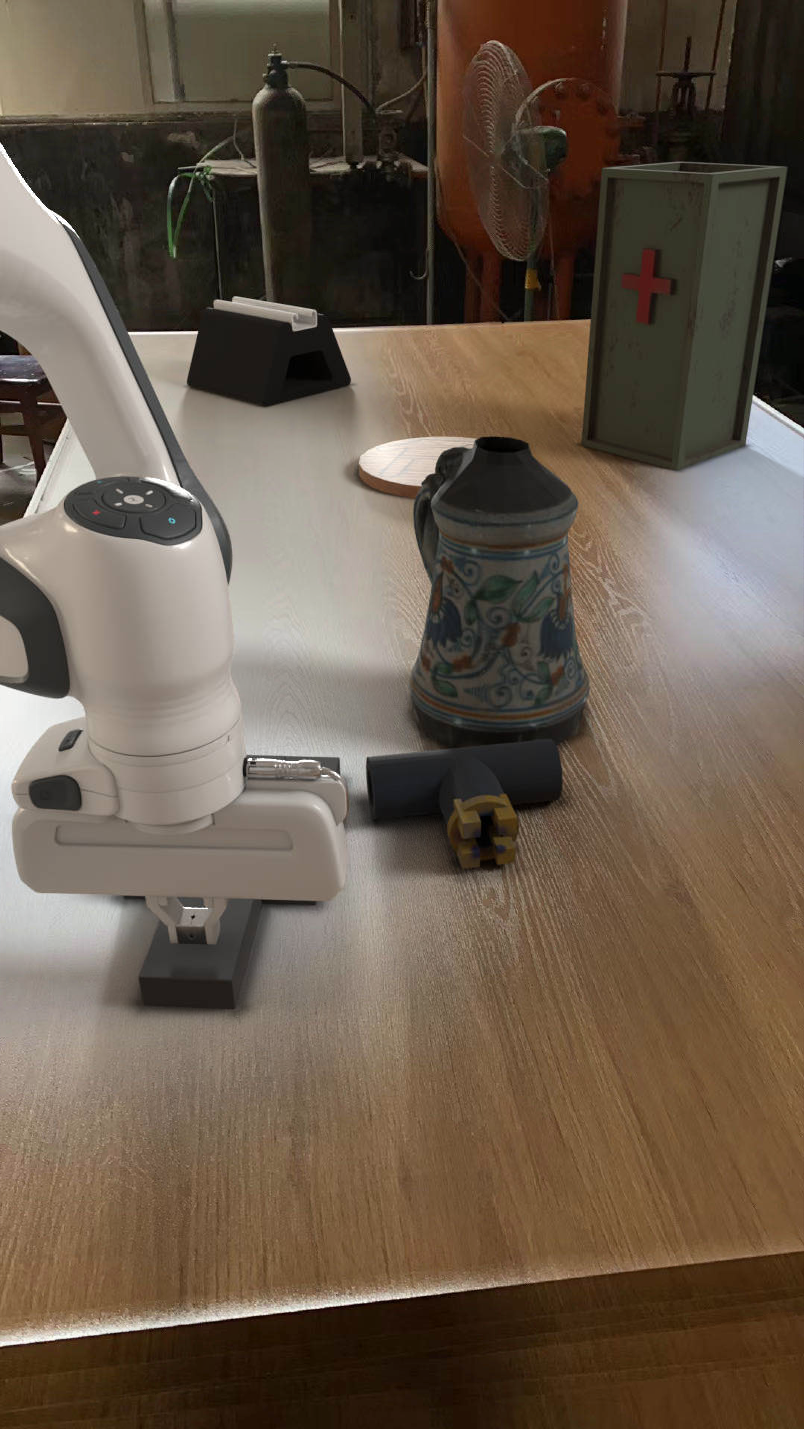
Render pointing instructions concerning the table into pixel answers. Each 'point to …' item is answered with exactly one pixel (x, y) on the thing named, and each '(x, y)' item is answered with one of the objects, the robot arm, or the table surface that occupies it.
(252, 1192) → the table surface
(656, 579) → the table surface
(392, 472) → the trivet
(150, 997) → the black tile
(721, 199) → the first aid box
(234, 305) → the device stand
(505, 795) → the pipe connector
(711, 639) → the table surface
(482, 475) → the beer stein
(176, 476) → the robot arm
